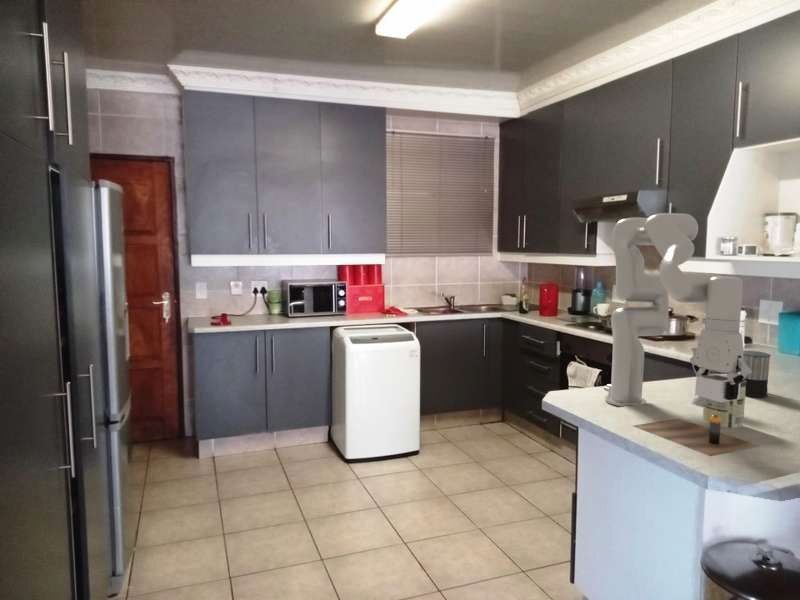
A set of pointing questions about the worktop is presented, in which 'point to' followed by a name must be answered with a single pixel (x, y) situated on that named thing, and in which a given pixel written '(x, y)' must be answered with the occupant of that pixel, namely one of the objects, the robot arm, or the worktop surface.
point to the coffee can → (727, 409)
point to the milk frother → (757, 373)
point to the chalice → (697, 399)
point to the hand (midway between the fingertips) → (717, 394)
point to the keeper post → (714, 429)
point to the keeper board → (695, 437)
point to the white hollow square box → (713, 387)
